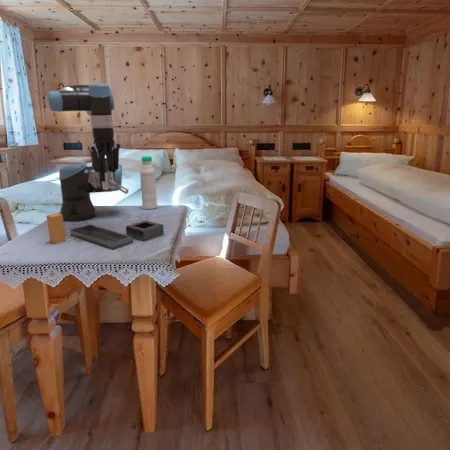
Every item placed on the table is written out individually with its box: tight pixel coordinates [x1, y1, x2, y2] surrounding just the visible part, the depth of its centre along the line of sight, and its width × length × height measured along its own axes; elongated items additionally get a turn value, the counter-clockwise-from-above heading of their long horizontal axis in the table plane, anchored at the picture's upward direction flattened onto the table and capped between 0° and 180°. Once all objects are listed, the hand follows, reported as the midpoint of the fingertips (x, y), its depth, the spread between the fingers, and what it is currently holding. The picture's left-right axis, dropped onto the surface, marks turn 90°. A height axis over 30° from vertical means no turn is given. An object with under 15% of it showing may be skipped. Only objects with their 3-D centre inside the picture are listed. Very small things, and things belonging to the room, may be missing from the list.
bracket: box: [88, 172, 130, 195], centre depth 158 cm, size 3×21×10 cm, turn 51°
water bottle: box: [139, 155, 158, 210], centre depth 194 cm, size 7×7×25 cm
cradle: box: [69, 224, 134, 251], centre depth 152 cm, size 26×9×2 cm, turn 52°
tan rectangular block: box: [45, 213, 67, 244], centre depth 149 cm, size 4×4×10 cm
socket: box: [125, 220, 165, 242], centre depth 156 cm, size 10×10×4 cm
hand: (108, 188), depth 159 cm, fingers closed on bracket, 2 cm apart
